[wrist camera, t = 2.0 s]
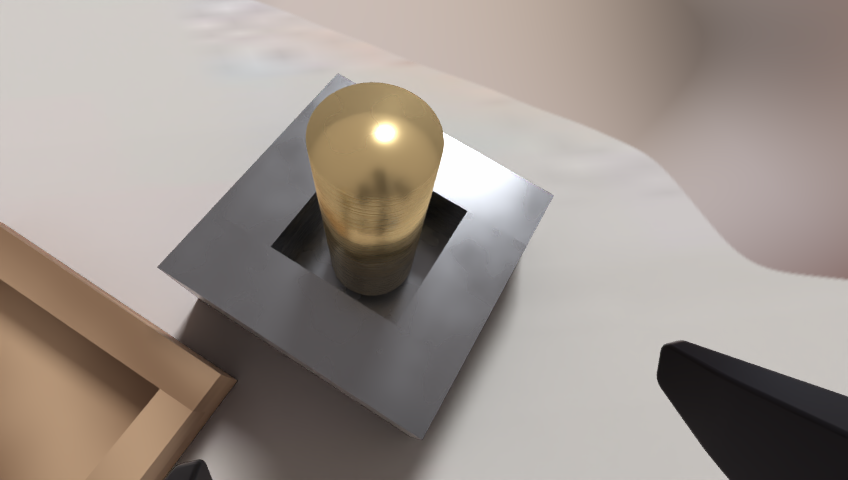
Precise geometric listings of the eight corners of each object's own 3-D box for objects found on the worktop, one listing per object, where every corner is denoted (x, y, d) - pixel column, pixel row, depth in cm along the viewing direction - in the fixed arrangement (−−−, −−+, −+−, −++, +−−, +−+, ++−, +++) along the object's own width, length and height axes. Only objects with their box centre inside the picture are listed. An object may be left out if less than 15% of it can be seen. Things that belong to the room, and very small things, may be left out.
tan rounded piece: (384, 311, 21) (398, 223, 12) (315, 267, 21) (276, 150, 12) (427, 246, 23) (467, 124, 13) (361, 206, 23) (357, 62, 14)
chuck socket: (410, 437, 20) (422, 440, 16) (197, 297, 21) (157, 267, 17) (522, 233, 25) (553, 195, 21) (342, 129, 26) (337, 73, 22)
